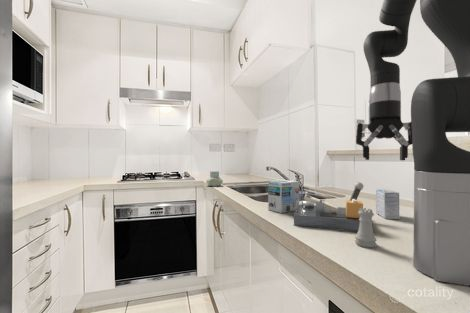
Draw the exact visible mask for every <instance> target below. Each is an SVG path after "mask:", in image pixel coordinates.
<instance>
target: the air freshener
mask: <svg viewBox="0 0 470 313" xmlns="http://www.w3.org/2000/svg"><path fill="white" fill-rule="evenodd" d="M205 182H206V185H208V186H209V187H213V186H216V187H220V186H221V185H222V184H223V179H222V178H221V177H220V171H219V170H211V171H210V173H209V177H208V178H206V181H205Z"/></svg>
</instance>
